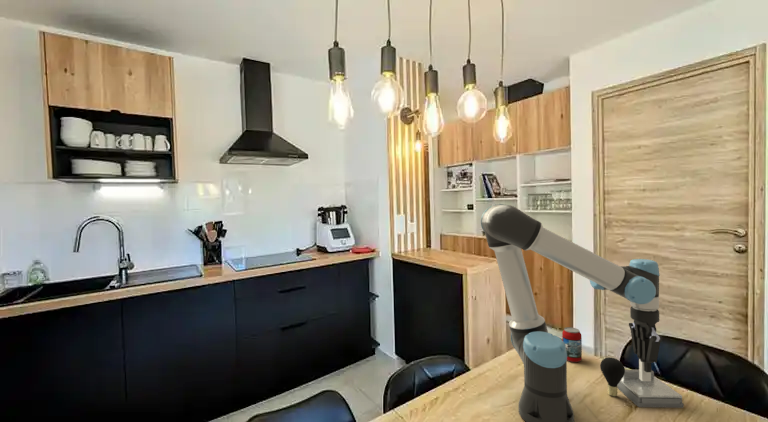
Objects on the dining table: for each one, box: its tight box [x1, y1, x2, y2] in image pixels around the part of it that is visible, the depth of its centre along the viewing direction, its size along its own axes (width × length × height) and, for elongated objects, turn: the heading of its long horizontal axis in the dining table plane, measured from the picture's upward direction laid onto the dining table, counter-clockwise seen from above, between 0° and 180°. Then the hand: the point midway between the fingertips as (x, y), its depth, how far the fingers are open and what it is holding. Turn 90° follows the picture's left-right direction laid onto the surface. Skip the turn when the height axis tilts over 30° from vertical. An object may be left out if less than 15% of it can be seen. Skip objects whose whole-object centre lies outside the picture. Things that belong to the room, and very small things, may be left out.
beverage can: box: [561, 326, 583, 363], centre depth 140 cm, size 7×7×12 cm
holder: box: [617, 382, 684, 409], centre depth 116 cm, size 13×18×3 cm
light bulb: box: [599, 357, 625, 397], centre depth 114 cm, size 7×7×12 cm
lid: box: [620, 368, 683, 399], centre depth 113 cm, size 13×12×3 cm
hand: (645, 379), depth 114 cm, fingers closed
